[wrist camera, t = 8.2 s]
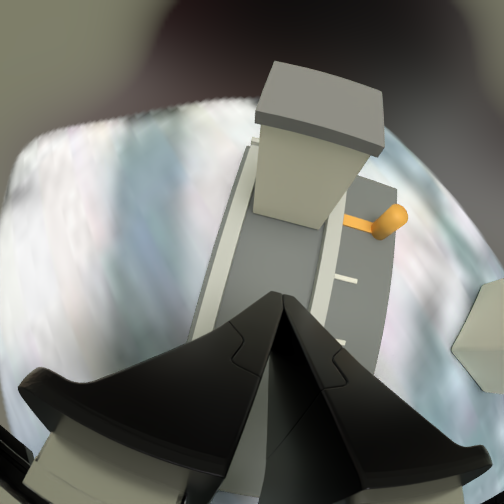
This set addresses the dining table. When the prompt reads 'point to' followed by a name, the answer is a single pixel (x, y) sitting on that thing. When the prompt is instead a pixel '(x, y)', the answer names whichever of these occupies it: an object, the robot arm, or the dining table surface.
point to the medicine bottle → (484, 339)
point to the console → (300, 283)
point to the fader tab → (312, 142)
